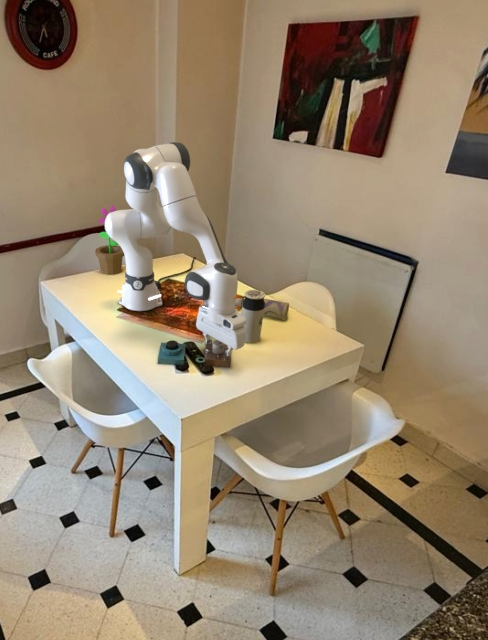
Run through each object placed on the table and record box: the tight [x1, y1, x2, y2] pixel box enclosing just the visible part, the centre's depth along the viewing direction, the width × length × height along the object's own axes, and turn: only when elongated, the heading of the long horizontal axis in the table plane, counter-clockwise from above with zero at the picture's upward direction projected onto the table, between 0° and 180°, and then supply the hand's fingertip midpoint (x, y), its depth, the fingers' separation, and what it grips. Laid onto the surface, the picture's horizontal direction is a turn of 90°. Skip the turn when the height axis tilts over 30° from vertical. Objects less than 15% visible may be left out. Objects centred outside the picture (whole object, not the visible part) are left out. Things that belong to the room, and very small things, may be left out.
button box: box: [157, 341, 187, 366], centre depth 162 cm, size 11×9×4 cm
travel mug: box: [240, 289, 266, 344], centre depth 169 cm, size 8×8×18 cm
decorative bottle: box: [235, 297, 290, 320], centre depth 190 cm, size 26×8×7 cm, turn 63°
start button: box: [166, 339, 179, 350], centre depth 160 cm, size 4×4×2 cm
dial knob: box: [212, 339, 224, 354], centre depth 159 cm, size 4×4×4 cm
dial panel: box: [203, 342, 232, 369], centre depth 161 cm, size 11×9×3 cm
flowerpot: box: [94, 204, 125, 275], centre depth 219 cm, size 14×14×30 cm
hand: (218, 349), depth 160 cm, fingers open, 8 cm apart
